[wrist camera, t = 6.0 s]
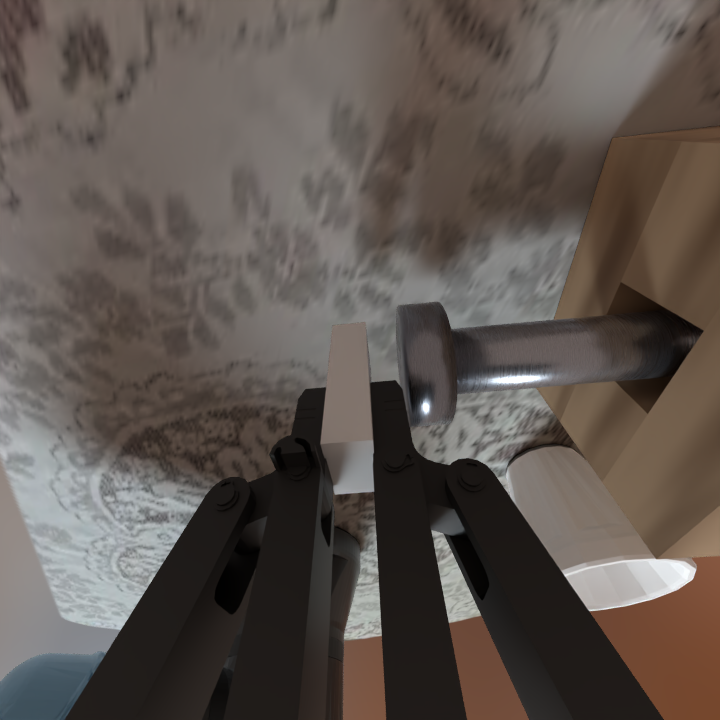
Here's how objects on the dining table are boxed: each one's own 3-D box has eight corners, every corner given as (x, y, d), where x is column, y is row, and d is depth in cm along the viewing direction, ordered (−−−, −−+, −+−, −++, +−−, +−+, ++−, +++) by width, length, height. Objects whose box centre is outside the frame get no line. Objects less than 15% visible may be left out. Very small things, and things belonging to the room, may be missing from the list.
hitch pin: (397, 373, 17) (411, 453, 13) (394, 284, 14) (412, 352, 10) (672, 350, 16) (779, 425, 12) (734, 251, 13) (906, 309, 9)
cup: (582, 408, 23) (689, 540, 16) (614, 468, 28) (707, 590, 21) (463, 460, 27) (504, 587, 20) (509, 505, 32) (556, 620, 24)
